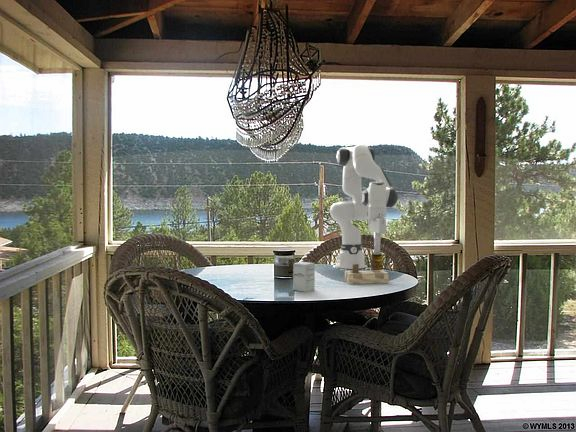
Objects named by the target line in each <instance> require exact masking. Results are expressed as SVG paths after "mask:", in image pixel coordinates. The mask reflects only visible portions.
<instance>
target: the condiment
mask: <svg viewBox="0 0 576 432" xmlns="http://www.w3.org/2000/svg"><path fill="white" fill-rule="evenodd" d="M376 270H383V255H382V254H381V253H380V254H374V253H372V254H371V258H370V271H376Z"/></svg>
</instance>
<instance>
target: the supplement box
mask: <svg viewBox="0 0 576 432" xmlns="http://www.w3.org/2000/svg"><path fill="white" fill-rule="evenodd" d="M315 264H316V263H314V262H310V261H309V262H307V261H300V262H299V261H298V262H293V264H292V265H293V266H292V267H293V270H292V271H293V273H292V278H293V279H292V280H293V281H292V283H293V284H292V285H293V286H292V290H293V291H298V292H304V293H307V292H312V291H315V287H316V286H315V285H316V284H315V279H316V277H315V275H316V274H315V273H316V272H315V269H316V267H315V266H316V265H315Z"/></svg>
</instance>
